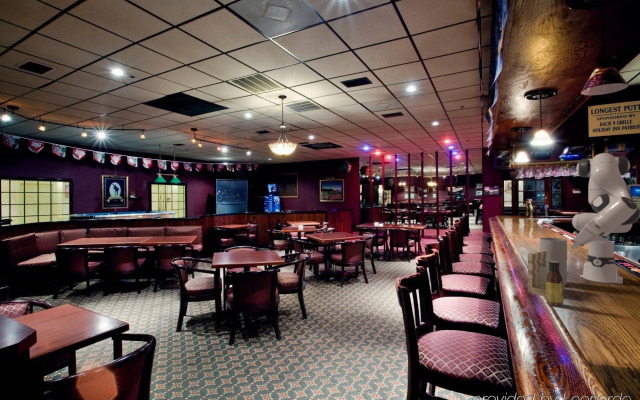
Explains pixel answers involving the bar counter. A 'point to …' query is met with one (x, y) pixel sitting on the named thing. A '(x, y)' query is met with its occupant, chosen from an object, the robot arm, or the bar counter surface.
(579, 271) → the bar counter surface
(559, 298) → the sauce bottle
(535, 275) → the back board shelf
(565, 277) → the cylinder vase
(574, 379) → the bar counter surface
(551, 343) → the bar counter surface
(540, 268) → the beige block
